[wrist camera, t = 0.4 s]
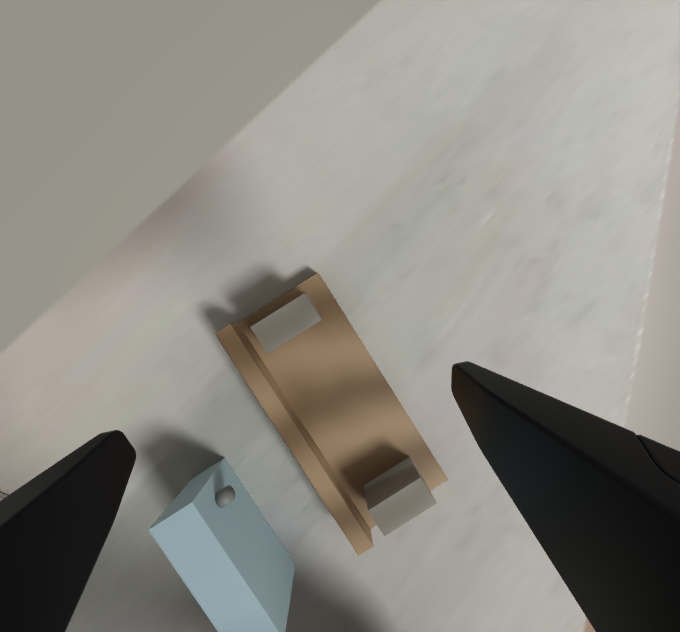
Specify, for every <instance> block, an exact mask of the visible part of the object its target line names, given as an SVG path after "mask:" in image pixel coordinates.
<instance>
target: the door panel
mask: <svg viewBox="0 0 680 632" xmlns="http://www.w3.org/2000/svg"><path fill="white" fill-rule="evenodd" d="M149 531H150V533H151V534H152V536H153V537H154V539H155V540H156V542H157V543H158V545H159V546H160V548H161V549H162V551H163V552H164V553H165V555H166V556H167V558H168V559H169V561H170V562H171V564H172V565H173V567H174V568H175V570H176V571H177V573H178V574H179V575H180V577H181V578H182V580H183V581H184V583H185V584H186V586H187V587H188V589H189V590H190V592H191V593H192V595H193V596H194V598H195V599H196V600H197V602H198V603H199V605H200V606H201V608H202V609H203V611H204V612H205V614H206V615H207V617H208V618H209V620H210V621H211V623H212V624H213V625H214V627H215V628H216V630H217V631H218V632H286V625H287V618H288V611H289V605H290V598H291V591H292V585H293V578H294V571H295V565H296V564H295V563H294V561H293V560H292V558H291V557H290V555H289V554H288V552H287V551H286V549H285V548H284V546H283V545H282V543H281V541H280V540H279V538H278V537H277V535H276V534H275V532H274V531H273V529H272V528H271V526H270V525H269V523H268V522H267V520H266V519H265V517H264V516H263V514H262V513H261V511H260V510H259V508H258V507H257V505H256V504H255V502H254V501H253V499H252V498H251V496H250V495H249V493H248V492H247V490H246V489H245V487H244V486H243V484H242V483H241V481H240V480H239V478H238V477H237V475H236V473H235V472H234V470H233V469H232V467H231V466H230V464H229V463H228V461H227V460H226V458H223V459H222V460H220V461H219V462H217V463H215V464H214V465H212V466H211V467H209V468H208V469H206V470H204V471H203V472H201V473H200V474H198V475H197V476H195V477H193V478H192V479H191V480H190V481H189V482H188V484H187V485H186V486H185V487H184V488H183V490H182V491H181V492H180V493H179V494H178V495H177V497H176V498H175V499H174V500H173V501H172V503H171V504H170V505H169V506H168V507H167V509H166V510H165V511H164V512H163V513H162V515H161V516H160V517H159V518H158V519H157V520H156V522H155V523H154V524H153V525H152V526H151V528H150V529H149Z"/></svg>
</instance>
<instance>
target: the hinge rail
mask: <svg viewBox="0 0 680 632" xmlns="http://www.w3.org/2000/svg"><path fill="white" fill-rule="evenodd" d="M215 334H216V336H217V338H218V339H219V341H220V342H221V344H222V345H223V347H224V348H225V350H226V351H227V353H228V355H229V356H230V358H231V359H232V361H233V362H234V364H235V365H236V367H237V368H238V370H239V372H240V373H241V375H242V376H243V378H244V379H245V381H246V382H247V384H248V386H249V387H250V389H251V390H252V392H253V393H254V395H255V396H256V398H257V399H258V401H259V403H260V404H261V406H262V407H263V409H264V410H265V412H266V413H267V415H268V416H269V418H270V420H271V421H272V423H273V424H274V426H275V427H276V429H277V430H278V432H279V433H280V435H281V437H282V438H283V440H284V441H285V443H286V444H287V446H288V447H289V449H290V451H291V452H292V454H293V455H294V457H295V458H296V460H297V461H298V463H299V464H300V466H301V468H302V469H303V471H304V472H305V474H306V475H307V477H308V478H309V480H310V481H311V483H312V485H313V486H314V488H315V489H316V491H317V492H318V494H319V495H320V497H321V498H322V500H323V502H324V503H325V505H326V506H327V508H328V509H329V511H330V512H331V514H332V515H333V517H334V519H335V520H336V522H337V523H338V525H339V526H340V528H341V529H342V531H343V533H344V534H345V536H346V537H347V539H348V540H349V542H350V543H351V545H352V546H353V548H354V550H355V551H356V553H357V554H358V556H359V555H360V554H362V553H364V552H365V551H367V550H368V549H370V548H371V547H373V541H372V535H371V528H372V527H374V526H375V525H378V527H379V529H380V530H381V532H382V533H383V535H384V536H385V535H387V534H389V533H390V532H392V531H393V530H395V529H396V528H398V527H400V526H401V525H403V524H404V523H406V522H407V521H409V520H411V519H412V518H414V517H415V516H417V515H418V514H420V513H422V512H423V511H425V510H426V509H428V508H430V507H431V506H433V505H434V504H436V501H435V499H434V497H433V495H432V493H431V490H432V489H434V488H435V487H437V486H438V485H440V484H442V483H443V482H445V481H446V480H448V478H447V477H446V475H445V474H444V472H443V470H442V469H441V467H440V466H439V464H438V463H437V461H436V459H435V458H434V456H433V455H432V453H431V451H430V450H429V448H428V447H427V445H426V443H425V442H424V440H423V439H422V437H421V435H420V434H419V432H418V431H417V429H416V427H415V426H414V424H413V423H412V421H411V419H410V418H409V416H408V415H407V413H406V412H405V410H404V408H403V407H402V405H401V404H400V402H399V400H398V399H397V397H396V396H395V394H394V392H393V391H392V389H391V388H390V386H389V384H388V383H387V381H386V380H385V378H384V376H383V375H382V373H381V372H380V370H379V368H378V367H377V365H376V364H375V362H374V361H373V359H372V357H371V356H370V354H369V353H368V351H367V349H366V348H365V346H364V345H363V343H362V341H361V340H360V338H359V337H358V335H357V333H356V332H355V330H354V329H353V327H352V325H351V324H350V322H349V321H348V319H347V317H346V316H345V314H344V313H343V311H342V310H341V308H340V306H339V305H338V303H337V302H336V300H335V298H334V297H333V295H332V294H331V292H330V290H329V289H328V287H327V286H326V284H325V282H324V281H323V279H322V278H321V276H320V274H319V273H317V274H315V275H313V276H312V277H310V278H309V279H307V280H305V281H304V282H302V283H301V284H299V285H298V286H296V287H294V288H293V289H291V290H290V291H288V292H286V293H285V294H283V295H282V296H280V297H278V298H277V299H275V300H274V301H272V302H270V303H269V304H267V305H266V306H264V307H262V308H261V309H259V310H258V311H256V312H254V313H253V314H251V315H250V316H248V317H246V318H245V319H243V320H242V321H240V322H239V323H232V324H229V325H227V326H226V327H224V328H223V329H221V330H220V331H218V332H216V333H215Z"/></svg>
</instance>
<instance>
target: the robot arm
mask: <svg viewBox="0 0 680 632" xmlns="http://www.w3.org/2000/svg"><path fill="white" fill-rule="evenodd" d="M451 388H452V393H453V396H454V398H455V400H456V402H457V404H458V406H459V408H460V410H461V412H462V414H463V416H464V418H465V420H466V422H467V424H468V426H469V428H470V430H471V432H472V434H473V436H474V438H475V440H476V442H477V444H478V446H479V448H480V449H481V451H482V453H483V454H484V456H485V457H486V459H487V461H488V462H489V464H490V465H491V467H492V469H493V470H494V472H495V473H496V475H497V476H498V478H499V480H500V481H501V483H502V484H503V486H504V487H505V489H506V491H507V492H508V494H509V495H510V497H511V499H512V500H513V502H514V503H515V505H516V506H517V508H518V510H519V511H520V513H521V514H522V516H523V517H524V519H525V521H526V522H527V524H528V525H529V527H530V529H531V530H532V532H533V533H534V535H535V536H536V538H537V540H538V541H539V543H540V544H541V546H542V547H543V549H544V551H545V552H546V554H547V555H548V557H549V559H550V560H551V562H552V563H553V565H554V566H555V568H556V570H557V571H558V573H559V574H560V576H561V577H562V579H563V581H564V582H565V584H566V585H567V587H568V588H569V590H570V592H571V593H572V595H573V596H574V598H575V600H576V601H577V603H578V604H579V606H580V607H581V609H582V611H583V612H584V614H585V615H586V617H587V618H588V620H589V622H590V623H591V625H592V626H593V628H594V629H595V631H596V632H680V451H677V450H675V449H672V448H670V447H668V446H665V445H663V444H661V443H658V442H656V441H654V440H651V439H649V438H647V437H644V436H642V435H636V434H635V433H634V432H632V431H630V430H628V429H625V428H623V427H621V426H618V425H616V424H614V423H611V422H609V421H607V420H604V419H602V418H600V417H597V416H595V415H593V414H590V413H588V412H586V411H583V410H581V409H579V408H576V407H574V406H572V405H569V404H567V403H565V402H562V401H560V400H558V399H555V398H553V397H551V396H548V395H546V394H544V393H541V392H539V391H537V390H534V389H532V388H530V387H527V386H525V385H523V384H520V383H518V382H516V381H513V380H511V379H509V378H506V377H504V376H502V375H499V374H497V373H495V372H492V371H490V370H488V369H485V368H483V367H481V366H478V365H476V364H474V363H471V362H468V361H466V362H461V363H456V364H454V365H453V367H452V383H451ZM135 460H136V452H135V449H134V448H133V446H132V445H131V444H130V442H129V441H128V439H127V438H126V436H125V435H124V433H123V432H121V431H119V430H114V431H109V432H104V433H101V434H99V435H97V436H96V437H94V438H93V439H91V440H90V441H88V442H87V443H85V444H84V445H82V446H81V447H79V448H78V449H76V450H75V451H73V452H72V453H70V454H69V455H68V456H66V457H65V458H63V459H62V460H60V461H59V462H57V463H56V464H54V465H53V466H51V467H50V468H48V469H47V470H45V471H44V472H42V473H41V474H39V475H38V476H36V477H35V478H33V479H32V480H31V481H29V482H28V483H26V484H25V485H23V486H22V487H20V488H19V489H17V490H16V491H14V492H13V493H11V494H10V495H8V496H7V497H5V498H4V499H2V500H1V501H0V632H65V631H66V629H67V626H68V624H69V622H70V620H71V618H72V615H73V613H74V611H75V609H76V606H77V604H78V602H79V600H80V597H81V595H82V593H83V591H84V588H85V586H86V584H87V582H88V579H89V577H90V575H91V573H92V570H93V568H94V566H95V564H96V561H97V559H98V557H99V555H100V552H101V550H102V548H103V546H104V543H105V541H106V539H107V537H108V534H109V532H110V530H111V527H112V525H113V522H114V520H115V517H116V514H117V512H118V509H119V506H120V503H121V500H122V497H123V495H124V492H125V489H126V486H127V483H128V480H129V477H130V474H131V472H132V469H133V466H134V463H135Z"/></svg>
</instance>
